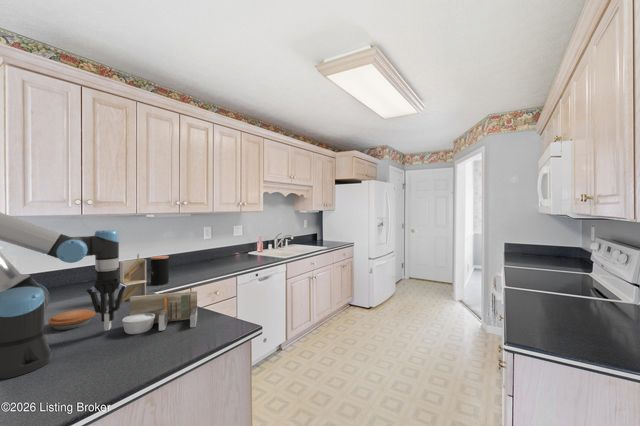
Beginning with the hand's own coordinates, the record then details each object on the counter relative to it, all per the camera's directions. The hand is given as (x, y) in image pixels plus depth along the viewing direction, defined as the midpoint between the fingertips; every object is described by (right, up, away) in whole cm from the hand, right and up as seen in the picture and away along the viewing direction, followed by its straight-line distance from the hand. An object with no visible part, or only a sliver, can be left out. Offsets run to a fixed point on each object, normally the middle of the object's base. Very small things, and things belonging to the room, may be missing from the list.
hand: (107, 329), depth 115 cm
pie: (-22, -2, +9) cm, 24 cm away
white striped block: (+29, -2, +10) cm, 31 cm away
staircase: (-18, -2, +44) cm, 48 cm away
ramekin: (+10, -2, +4) cm, 11 cm away
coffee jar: (-23, -2, +80) cm, 83 cm away
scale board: (+16, -2, +12) cm, 20 cm away
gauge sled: (+19, -2, +7) cm, 20 cm away
